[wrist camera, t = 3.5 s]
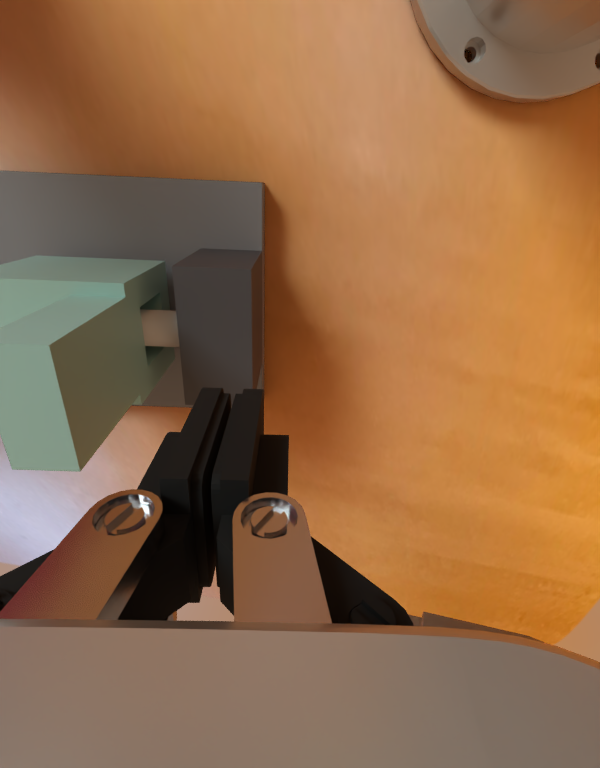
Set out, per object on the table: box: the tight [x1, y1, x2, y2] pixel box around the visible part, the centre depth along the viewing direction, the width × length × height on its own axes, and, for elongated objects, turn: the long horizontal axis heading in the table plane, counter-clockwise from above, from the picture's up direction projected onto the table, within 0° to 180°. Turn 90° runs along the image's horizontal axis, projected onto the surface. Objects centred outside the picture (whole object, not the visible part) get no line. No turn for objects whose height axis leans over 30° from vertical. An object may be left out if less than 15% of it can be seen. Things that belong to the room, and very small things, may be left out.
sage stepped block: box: [0, 255, 175, 472], centre depth 16 cm, size 6×5×10 cm
